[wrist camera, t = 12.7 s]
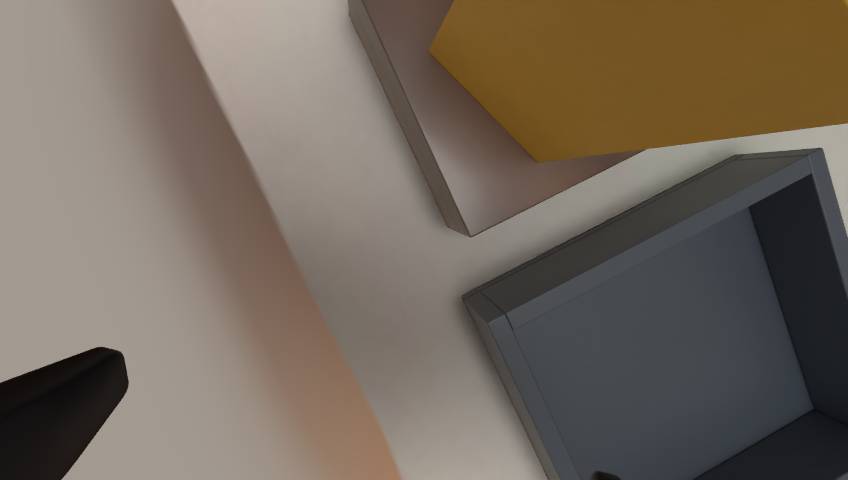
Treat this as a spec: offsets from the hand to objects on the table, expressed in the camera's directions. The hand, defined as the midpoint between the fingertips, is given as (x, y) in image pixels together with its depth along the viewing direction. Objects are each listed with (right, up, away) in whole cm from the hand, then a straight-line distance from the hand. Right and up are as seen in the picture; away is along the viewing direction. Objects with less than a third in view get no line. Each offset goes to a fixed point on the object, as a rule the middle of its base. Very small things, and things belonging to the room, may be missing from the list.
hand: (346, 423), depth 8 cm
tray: (+13, -3, +14) cm, 20 cm away
